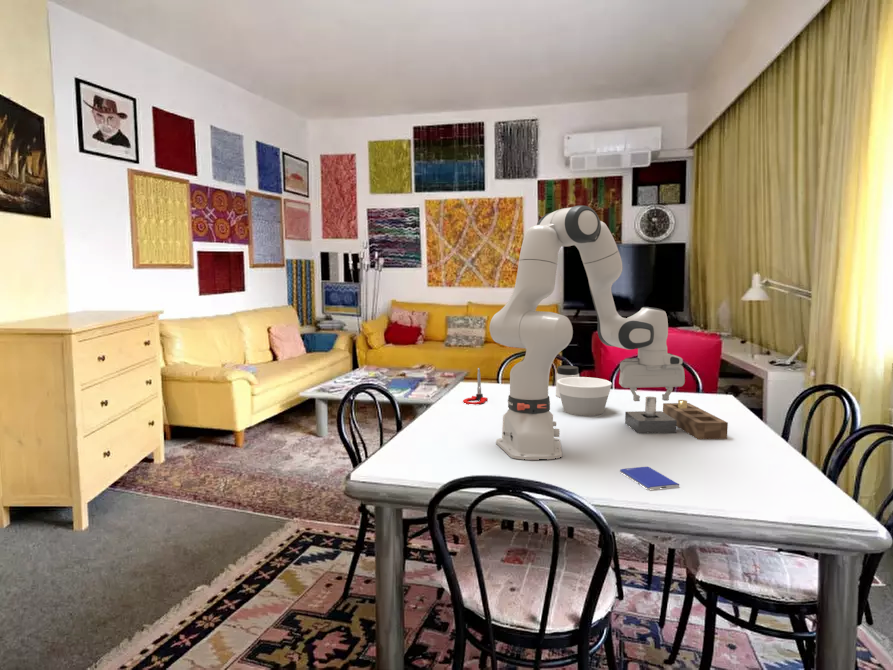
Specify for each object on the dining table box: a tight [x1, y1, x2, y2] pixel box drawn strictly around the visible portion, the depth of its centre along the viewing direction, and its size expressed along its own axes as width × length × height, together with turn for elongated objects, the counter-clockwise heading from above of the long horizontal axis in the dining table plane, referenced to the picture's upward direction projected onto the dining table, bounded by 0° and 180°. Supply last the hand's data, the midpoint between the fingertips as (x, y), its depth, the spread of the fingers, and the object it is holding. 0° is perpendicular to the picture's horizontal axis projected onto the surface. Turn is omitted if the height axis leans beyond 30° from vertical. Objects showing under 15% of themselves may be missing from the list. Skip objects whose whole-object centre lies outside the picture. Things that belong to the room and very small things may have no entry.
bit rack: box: [662, 402, 729, 440], centre depth 190 cm, size 26×9×5 cm, turn 2°
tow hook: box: [462, 367, 489, 405], centre depth 226 cm, size 8×13×9 cm
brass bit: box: [677, 399, 688, 408], centre depth 197 cm, size 3×3×7 cm
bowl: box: [557, 376, 613, 417], centre depth 212 cm, size 19×19×11 cm
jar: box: [555, 365, 580, 399], centre depth 236 cm, size 9×8×12 cm
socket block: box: [624, 410, 677, 434], centre depth 189 cm, size 12×12×4 cm
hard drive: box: [619, 466, 680, 491], centre depth 143 cm, size 2×8×12 cm
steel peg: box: [644, 396, 657, 418], centre depth 189 cm, size 3×3×10 cm
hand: (650, 400), depth 189 cm, fingers open, 8 cm apart
